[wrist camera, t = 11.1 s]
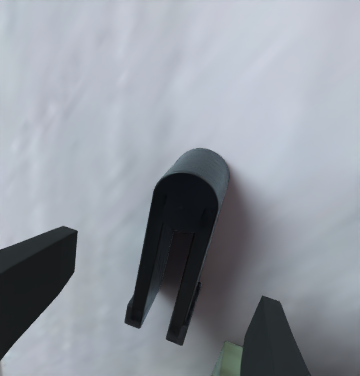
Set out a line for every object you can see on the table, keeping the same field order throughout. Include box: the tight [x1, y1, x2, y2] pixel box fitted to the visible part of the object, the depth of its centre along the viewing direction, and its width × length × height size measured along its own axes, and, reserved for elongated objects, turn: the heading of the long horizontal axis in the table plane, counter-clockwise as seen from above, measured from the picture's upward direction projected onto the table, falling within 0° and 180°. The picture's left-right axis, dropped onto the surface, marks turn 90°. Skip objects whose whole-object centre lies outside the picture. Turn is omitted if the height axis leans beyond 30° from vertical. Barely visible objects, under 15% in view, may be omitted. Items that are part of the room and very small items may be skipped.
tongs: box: [125, 148, 229, 346], centre depth 14 cm, size 8×3×3 cm, turn 167°
